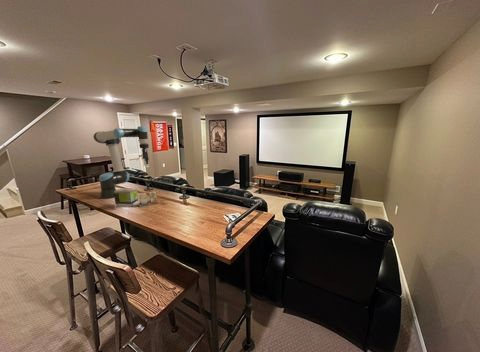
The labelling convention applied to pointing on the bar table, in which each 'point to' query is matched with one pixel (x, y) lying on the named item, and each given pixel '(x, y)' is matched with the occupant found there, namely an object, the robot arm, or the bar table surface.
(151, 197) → the beige wooden block
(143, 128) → the robot arm
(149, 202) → the grey brown flat frame
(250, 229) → the bar table surface
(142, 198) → the tan block
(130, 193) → the tea box
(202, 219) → the bar table surface
